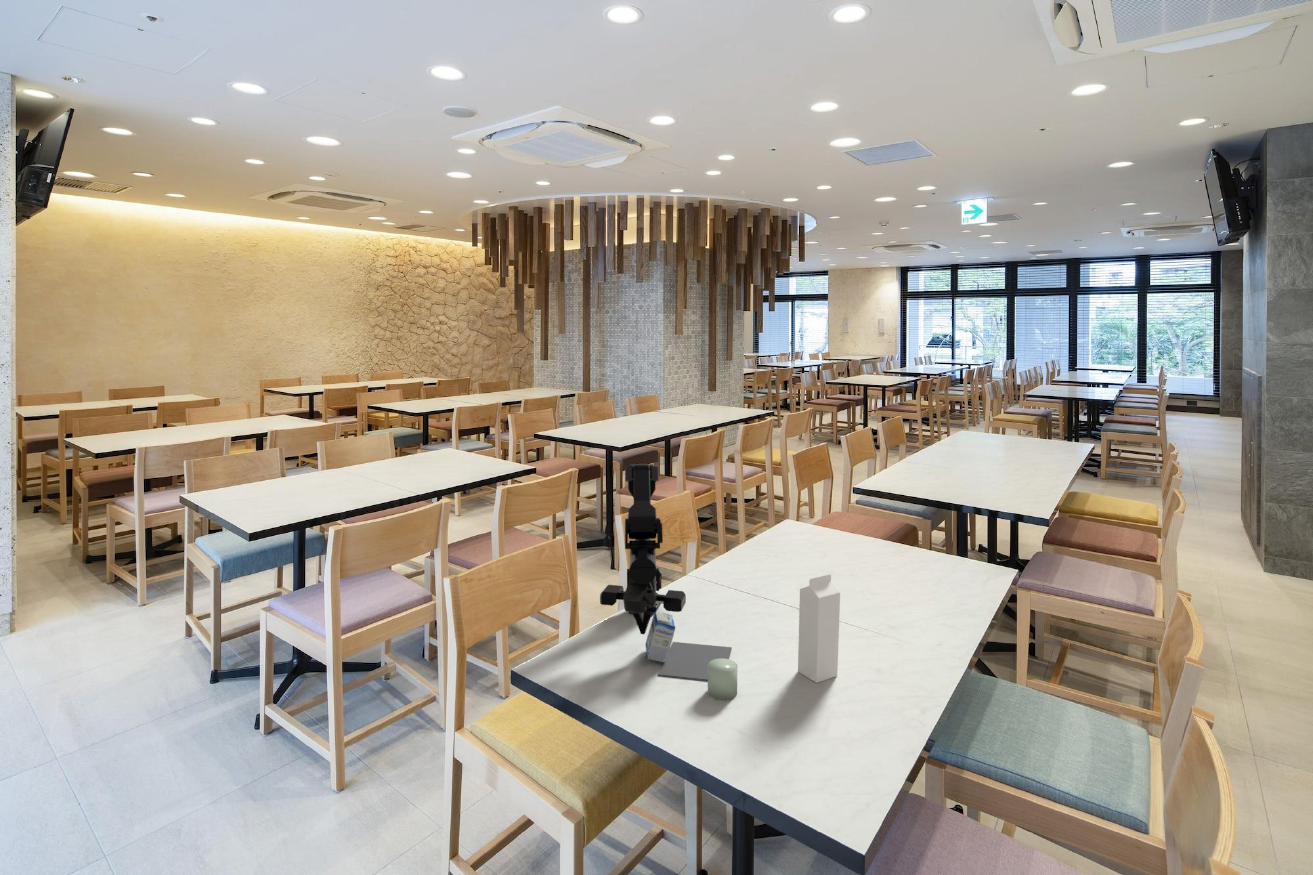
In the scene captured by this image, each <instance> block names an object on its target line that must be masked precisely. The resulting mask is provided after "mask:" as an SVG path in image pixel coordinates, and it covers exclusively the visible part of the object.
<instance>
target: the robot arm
mask: <svg viewBox="0 0 1313 875" xmlns="http://www.w3.org/2000/svg"><path fill="white" fill-rule="evenodd" d="M624 476H625V477H624V479H625V480H624V481H625V483H627V484H628V485H627V486H628V487H627V489H628V492H629V494H630V495H631V497H632V498H633V504H632V505H631V506H630V507H629V508H628V511H627V512H628V513H627V514H628V515H627V517H628V518H625V520H624V550H629V566H628V567H629V568H626V589H625V590H624V587H623V585H618V584H617V585H616V584H615V585H614V584H608V585H607V586H606V587H605V588H604V589H603V590H602V591H601V592H600V595H599V603H600V605H602V606H611V607H612V606H614V605H615V604H616V603H617V601H618V600H619V601H621V600H622V601H623V607H624V610H625V611H626V612H628V615H632V616H633V617H634V620H635V622H636V625H637V628H638V630H639V632H640V635H645V634H646V632H647V629H648V626H649V624H650V620H651V617H653V615H654V613H655V612H657V611H658V609H659V608H660V607H661V605H663V608H664V610H666V611H667V612H675V613H679V612H682V611H683V609H684V607H685V605H686V603H687V601H686V600H687V599H686V598H687V597H686V593H685V592H684V591H682V590H674V589H668V590H667V592H666V594H662V593H661V594H660V593H658V592H659V591H660V590H661V589H662V578H663V576H662V572H660V571H661V570H660V569H659V568H658V567H657V560H656V549H661V544H663V543H664V542H663V538H664V537H663V522H662V521H661V519H660V517H657V508H656V507H654V506H653V505H652V504H651V502H652V501H651V498H652V496H653V495H654V493H655V491H656V483H658V482H659V466H655V465H654V464H653V463H639V464H637V463H636V464H629V466H625V467H624ZM628 540H629V542H628ZM656 540H657V541H656Z"/></svg>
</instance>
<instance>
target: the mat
mask: <svg viewBox="0 0 1313 875" xmlns="http://www.w3.org/2000/svg"><path fill="white" fill-rule="evenodd" d="M731 653H732V647H731V646H720V645H710V644H699V643H690V642H679V641H672V643H671V646H670V650H669V654H668V657H667V661H666V662H662V665H661V667H660V669H659V671H658V673H657V677H658V676H659V677H666V678H667V677H668V678H674V679H675V678H676V679H677V678H678V679H685V680H686V679H687V680H696V681H704V682H705V681H706V682H708V663H709V662H710V661H712V660H714V659H721V658H722V659H729V660H730V656H731Z"/></svg>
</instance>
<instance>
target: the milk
mask: <svg viewBox="0 0 1313 875" xmlns="http://www.w3.org/2000/svg"><path fill="white" fill-rule="evenodd" d="M840 606H841V592H840V591H839V589H838V588H837V586H836V585H835V584H834V583H833V581H832V574H830V573H829V574H825V575H820V576H816V577H812V578H809V583H808V585H807V586H804V587H802V588H799V609H798V610H799V612H798V613H799V614H798V615H799V616H798V619H799V620H798V646H797V647H798V650H797V651H798V653H797V655H798V656H797V672H799V673H800V674H801V675H803V676H804V677H806V678H808V679H810V680H811V681H813V682H814V683H815V684H818V683H820V682H824V681H827V680H830V679H833V678H835V677H838V669H839V668H838V666H839V641H840V640H839V638H840V635H839V634H840V633H839V632H840V614H841V613H840V612H841V609H840V608H841V607H840Z"/></svg>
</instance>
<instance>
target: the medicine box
mask: <svg viewBox="0 0 1313 875" xmlns="http://www.w3.org/2000/svg"><path fill="white" fill-rule="evenodd" d="M650 623H651V624H650V627H649V629H648V634H647V637H646V639H645V640H646V642H645V649H646V650H645V651H646V656H647V659H648V660H651V661H655V662H660V663H663V662H666V661H667V657H668V654H669V650H670V647H671V645H672V643H673V638H674V634H675V631H676V625H675V622H674V618H673V615H672V614H671V613H667V612H663V611H658V610H657V612H655V613H654V614H653V615H652V619H651V622H650Z"/></svg>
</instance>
